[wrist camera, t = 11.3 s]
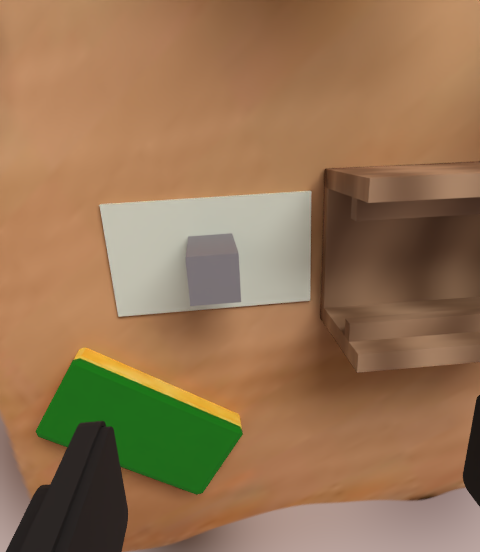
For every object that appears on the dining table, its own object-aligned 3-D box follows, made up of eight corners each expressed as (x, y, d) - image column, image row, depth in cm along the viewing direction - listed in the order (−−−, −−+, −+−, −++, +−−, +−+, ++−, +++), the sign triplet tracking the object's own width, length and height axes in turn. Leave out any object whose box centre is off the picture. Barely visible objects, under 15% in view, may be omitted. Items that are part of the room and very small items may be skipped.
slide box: (548, 158, 28) (668, 163, 20) (518, 303, 31) (612, 350, 24) (324, 168, 26) (369, 178, 19) (320, 318, 30) (357, 372, 23)
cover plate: (308, 189, 27) (334, 202, 22) (307, 296, 30) (331, 331, 24) (102, 203, 26) (76, 219, 21) (120, 312, 29) (101, 352, 23)
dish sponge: (200, 473, 34) (200, 497, 32) (45, 414, 31) (33, 435, 29) (241, 411, 33) (245, 432, 30) (83, 342, 29) (73, 359, 27)
